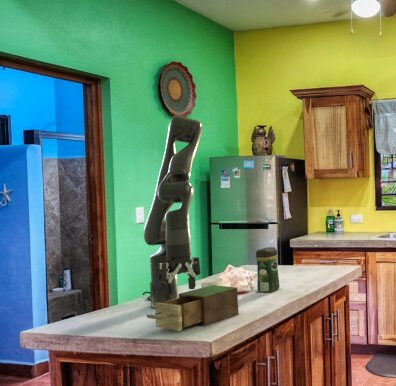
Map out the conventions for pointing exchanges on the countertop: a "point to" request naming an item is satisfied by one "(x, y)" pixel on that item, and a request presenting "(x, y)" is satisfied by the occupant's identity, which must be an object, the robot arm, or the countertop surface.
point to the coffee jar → (267, 269)
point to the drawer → (178, 313)
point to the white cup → (212, 282)
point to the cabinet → (215, 302)
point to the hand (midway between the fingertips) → (180, 291)
